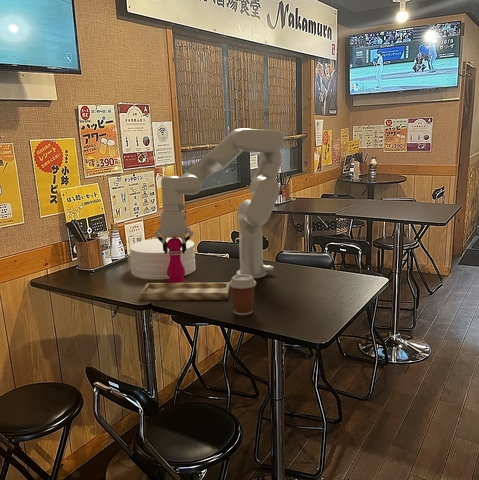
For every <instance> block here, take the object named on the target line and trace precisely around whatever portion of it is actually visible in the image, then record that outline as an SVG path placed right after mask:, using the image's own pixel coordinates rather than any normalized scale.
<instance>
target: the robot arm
mask: <svg viewBox="0 0 479 480" xmlns="http://www.w3.org/2000/svg"><path fill="white" fill-rule="evenodd" d="M284 144H285V138H284V136H283V134H282V133H281V132H280V131H279V130H275V129H256V128H255V129H253V128H236V129H234V130H232V131H231V132H230V133H229V134H228V135H227V136H225V138H224V139H222V140H221V141H220V142H219V143H218V144H217V145H216V146H215V147H214V148H212V149H211V150H210V151H209V152H207V153H206V154H205V155H203V157H202V158H200V159H199V160H198V161H196V162H195V163H194V164H193V165H192V166H190V167H189V168H188V169H187V170H186V171H185V172H184V173H183V174H182V175H181V176H178V175H166V176H163V177H161V179H160V182H161V183H160V184H161V185H160V186H161V187H160V188H161V203H162V211H161V213H160V222H159V223H160V224H159V225H160V226H159V228H158V229H157V230H156V231H155V232H154V233H153V236H154V237H155V239H158V240H159V241H161V242H162V244H163V251H164V252H165V254H166V253H167V252H168V248H167V242H166V240H167V238H172V237H176V238H181V240H182V253H185V251H186V242H187V241H188V240H191V238H192V237H193V236H194V234H195V232H194V231H192V230H191V229H190V227H188V225H187V218H186V213H185V210H184V209H186V208H187V205H186V204H183V195H189V196H190V195H191V196H192V195H193V196H194V195H197V194H199V193H200V192H201V191H202V189H203V188H202V187H203V181H204V180H206V179H207V178H208V177H209V176H211V175H213V174H214V173H217V172H220V171H222V170H224V169H225V168H226V167H228V166H229V164H231V163H232V162H233V161H234V160H235V159H236V158H237V157H238V156H240V155H241V154H242V153H243V152H251V153H252V152H254V153H260V158H259V159H260V160H259V163H258V166H257V168H256V171H255V173H254V175H253V178H252V180H251V182H250V184H249V191H250V193H251V195H252V197H251V199H249V198H248V199H244V200H243V201H241V202H240V204H239V205H238V207H237V210H236V211H237V221H238V232H239V233H238V234H239V235H238V236H239V237H238V238H239V245H238V247H239V270H237V271H236V275H240V274H246V275H251V276H252V277H253V279H254V280H255V279H261V278H263V277H265V276H267V272H274V267H275V266H274V265H273V266H271V265H270V264H269V265H265V264H264V262H263V259H264V258H263V255H264V254H263V253H264V252H263V226H264V225H265V224H266V223H267V222H268V220H269V219H270V217H271V214H272V212H273V210H274V209H275V208H274V207H275V205H276V204H277V203H276V202H277V201H278V199H279V195H280V185H279V182H278V181H277V180H276V179H277V177H278V174H279V171H280V168H281V165H282V153H281V149H282V148H283V147H284ZM187 234H188V235H187ZM186 235H187V236H186Z"/></svg>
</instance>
